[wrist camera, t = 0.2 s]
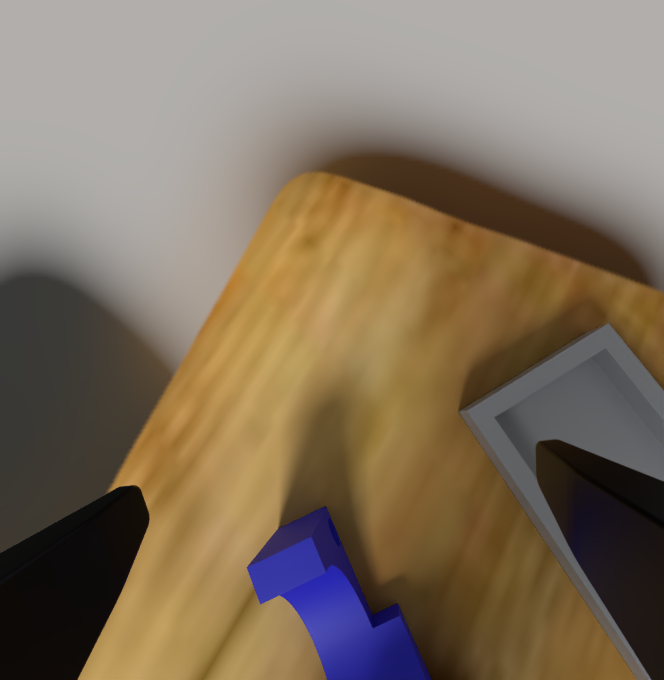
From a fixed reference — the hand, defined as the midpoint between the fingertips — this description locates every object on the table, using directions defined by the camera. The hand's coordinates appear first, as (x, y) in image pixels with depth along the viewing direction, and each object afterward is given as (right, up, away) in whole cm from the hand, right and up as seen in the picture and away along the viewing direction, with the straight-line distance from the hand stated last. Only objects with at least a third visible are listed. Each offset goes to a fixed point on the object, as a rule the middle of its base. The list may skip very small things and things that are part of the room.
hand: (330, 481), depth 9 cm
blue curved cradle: (+2, -12, +12) cm, 17 cm away
